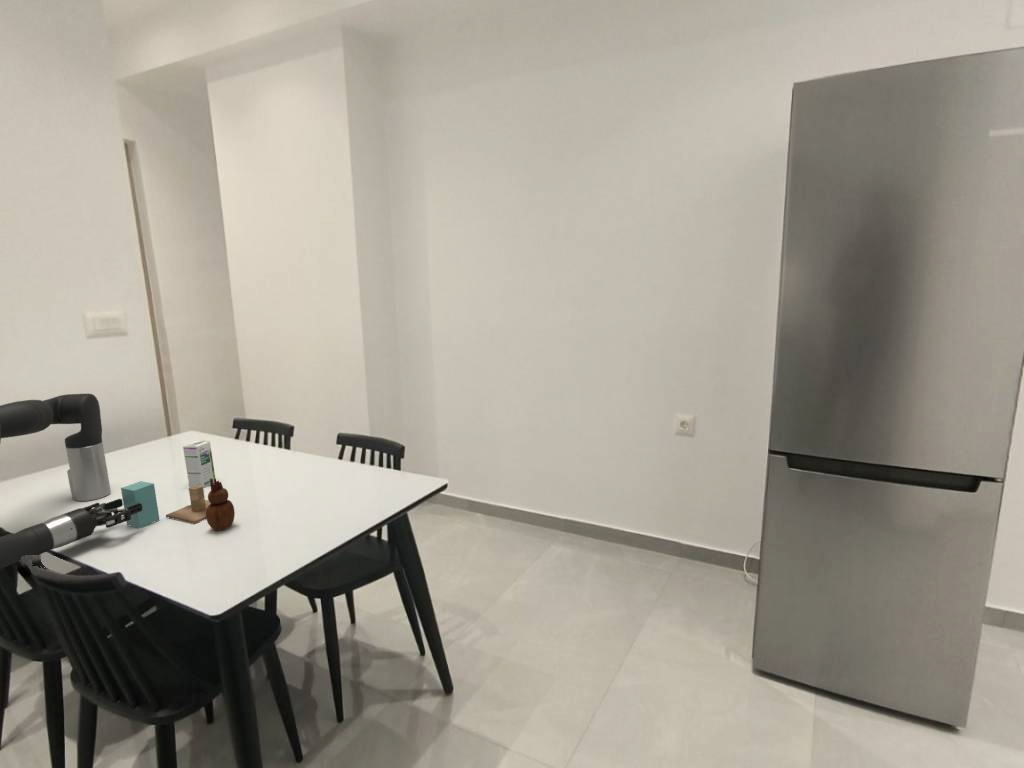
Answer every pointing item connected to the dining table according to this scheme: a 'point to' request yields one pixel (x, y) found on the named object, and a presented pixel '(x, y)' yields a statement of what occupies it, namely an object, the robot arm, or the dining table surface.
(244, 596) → the dining table surface
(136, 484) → the tall teal pillar
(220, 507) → the wooden figurine
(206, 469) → the syrup box
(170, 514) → the brown base plate
